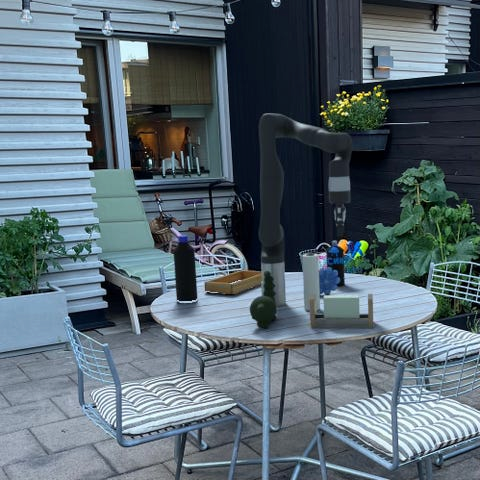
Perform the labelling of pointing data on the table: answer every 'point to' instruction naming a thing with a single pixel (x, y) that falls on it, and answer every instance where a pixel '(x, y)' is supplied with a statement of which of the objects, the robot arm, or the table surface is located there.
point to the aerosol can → (336, 261)
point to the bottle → (185, 270)
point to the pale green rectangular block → (341, 306)
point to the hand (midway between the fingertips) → (340, 234)
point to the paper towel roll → (311, 279)
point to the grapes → (328, 280)
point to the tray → (224, 285)
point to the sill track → (322, 322)
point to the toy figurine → (265, 304)
